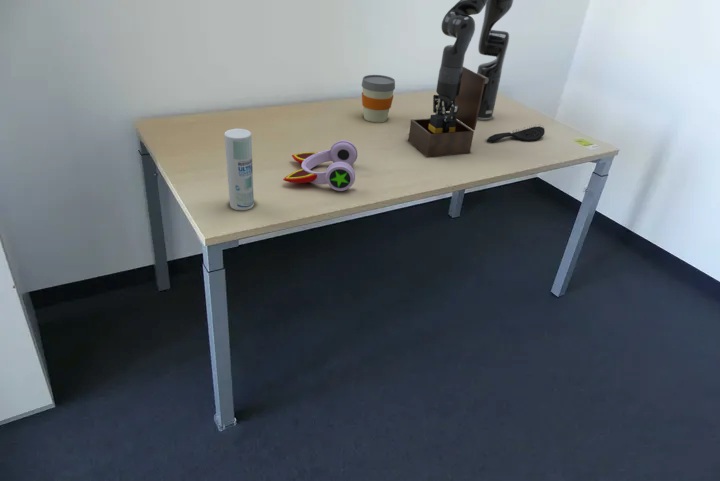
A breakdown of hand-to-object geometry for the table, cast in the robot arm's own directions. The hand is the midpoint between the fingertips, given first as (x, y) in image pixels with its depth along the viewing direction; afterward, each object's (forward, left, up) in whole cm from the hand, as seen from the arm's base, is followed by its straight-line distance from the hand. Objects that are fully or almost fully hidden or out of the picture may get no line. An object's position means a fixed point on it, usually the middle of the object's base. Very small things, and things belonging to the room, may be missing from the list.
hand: (441, 129), depth 181 cm
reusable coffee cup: (-31, -11, -7) cm, 34 cm away
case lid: (0, +8, +11) cm, 13 cm away
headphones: (+13, -47, -7) cm, 49 cm away
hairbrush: (-1, +33, -7) cm, 34 cm away
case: (0, 0, -6) cm, 6 cm away
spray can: (+25, -73, -7) cm, 77 cm away
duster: (0, 0, 0) cm, 0 cm away
